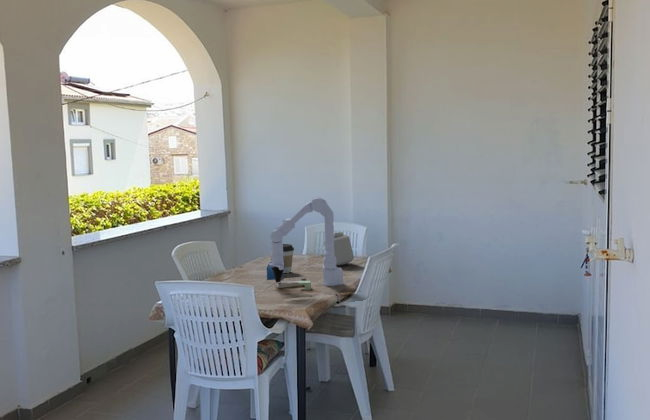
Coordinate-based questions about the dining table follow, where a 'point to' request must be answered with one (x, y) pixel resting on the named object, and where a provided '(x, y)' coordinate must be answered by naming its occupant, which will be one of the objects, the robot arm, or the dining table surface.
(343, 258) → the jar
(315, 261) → the dining table surface
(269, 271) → the perfume bottle
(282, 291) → the board
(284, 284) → the link
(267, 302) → the dining table surface
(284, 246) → the coffee cup
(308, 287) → the keeper
